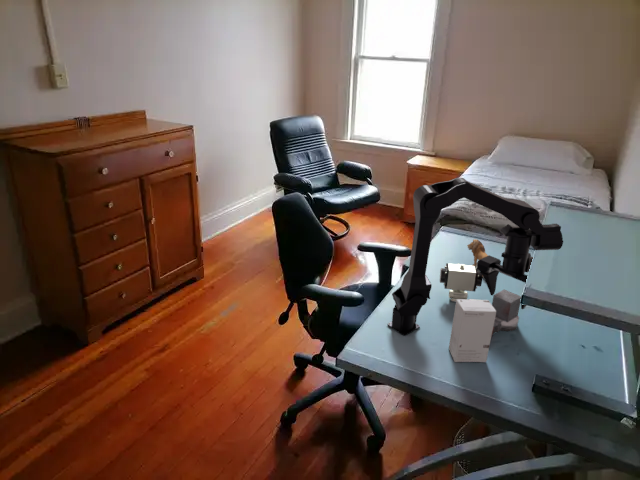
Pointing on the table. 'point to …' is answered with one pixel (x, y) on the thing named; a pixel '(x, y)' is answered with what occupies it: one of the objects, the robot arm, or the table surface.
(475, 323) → the skincare box
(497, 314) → the brushed metal block
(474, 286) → the pneumatic valve
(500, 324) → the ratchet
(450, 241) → the table surface
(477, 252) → the lion figurine
